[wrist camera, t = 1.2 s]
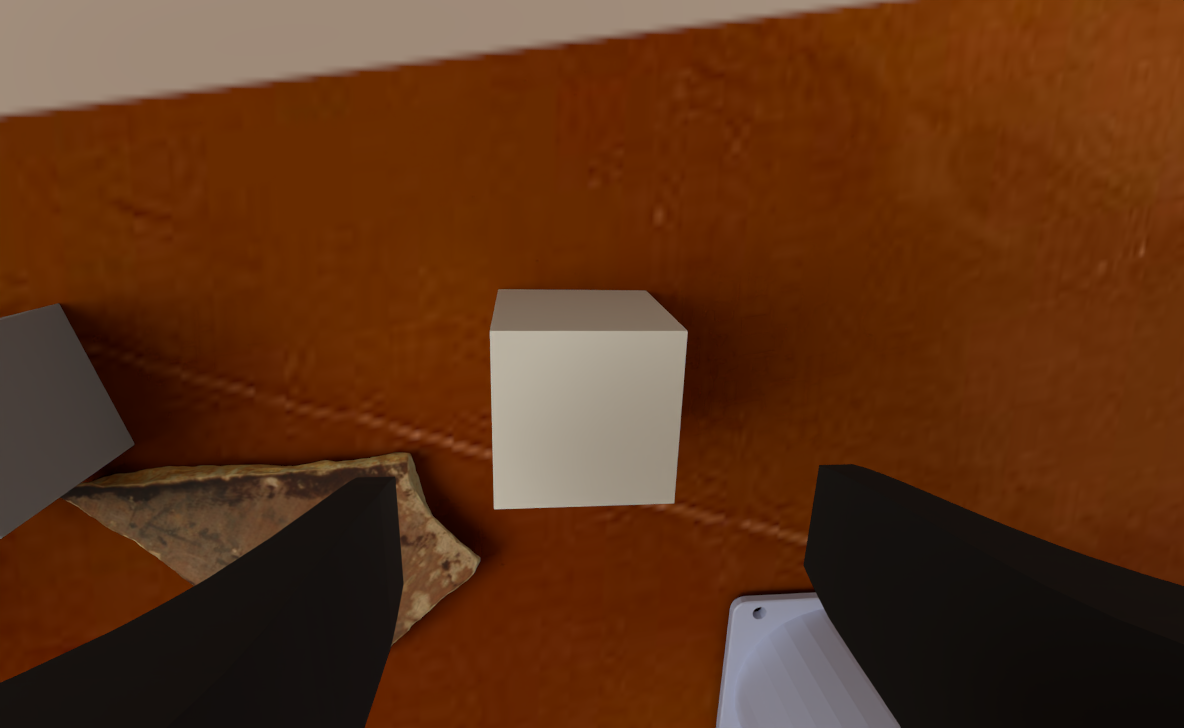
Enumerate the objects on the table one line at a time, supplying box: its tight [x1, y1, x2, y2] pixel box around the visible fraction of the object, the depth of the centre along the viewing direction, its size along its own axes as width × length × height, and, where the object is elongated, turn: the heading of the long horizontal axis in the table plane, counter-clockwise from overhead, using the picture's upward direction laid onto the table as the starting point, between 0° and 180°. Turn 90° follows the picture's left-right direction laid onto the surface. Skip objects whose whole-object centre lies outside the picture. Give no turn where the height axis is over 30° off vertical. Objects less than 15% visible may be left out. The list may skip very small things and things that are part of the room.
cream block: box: [490, 289, 688, 509], centre depth 17 cm, size 4×4×5 cm
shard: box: [60, 452, 480, 646], centre depth 19 cm, size 11×8×2 cm
